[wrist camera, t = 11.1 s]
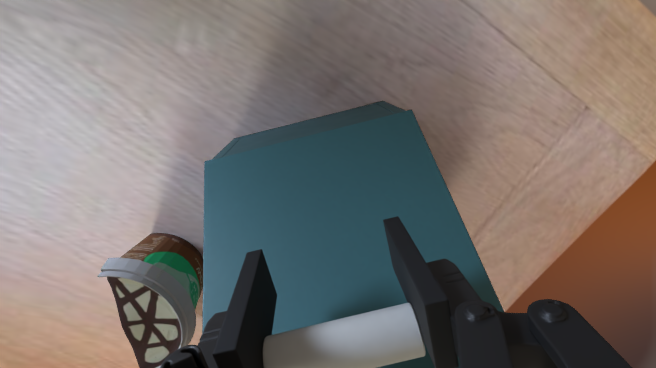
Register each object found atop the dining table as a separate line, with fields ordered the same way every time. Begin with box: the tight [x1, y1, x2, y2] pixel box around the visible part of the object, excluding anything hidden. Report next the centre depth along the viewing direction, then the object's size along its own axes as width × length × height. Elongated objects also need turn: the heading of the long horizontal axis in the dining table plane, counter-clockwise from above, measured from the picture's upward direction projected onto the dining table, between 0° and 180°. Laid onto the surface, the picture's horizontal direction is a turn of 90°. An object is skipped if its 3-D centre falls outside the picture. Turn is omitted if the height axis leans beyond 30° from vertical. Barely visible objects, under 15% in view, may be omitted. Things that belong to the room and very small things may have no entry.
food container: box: [98, 233, 203, 368], centre depth 36 cm, size 12×6×10 cm, turn 7°
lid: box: [202, 110, 504, 368], centre depth 19 cm, size 18×16×6 cm
